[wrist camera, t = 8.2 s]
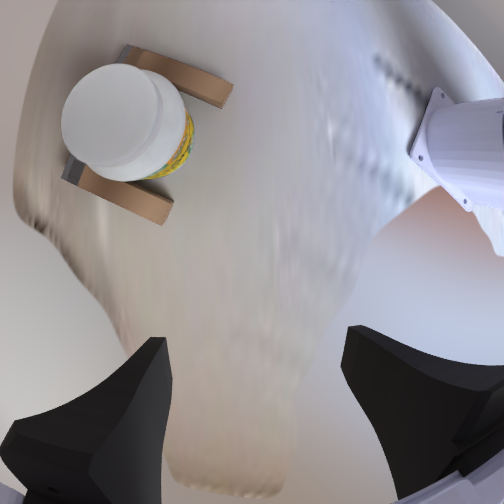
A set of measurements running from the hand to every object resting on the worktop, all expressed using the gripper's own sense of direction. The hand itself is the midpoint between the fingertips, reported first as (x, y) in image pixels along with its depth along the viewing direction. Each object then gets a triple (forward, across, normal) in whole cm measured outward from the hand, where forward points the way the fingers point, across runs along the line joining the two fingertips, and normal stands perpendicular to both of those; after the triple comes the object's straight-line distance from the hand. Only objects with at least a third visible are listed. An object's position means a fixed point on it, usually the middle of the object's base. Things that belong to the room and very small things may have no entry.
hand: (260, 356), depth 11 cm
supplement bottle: (+11, +6, -9) cm, 15 cm away
